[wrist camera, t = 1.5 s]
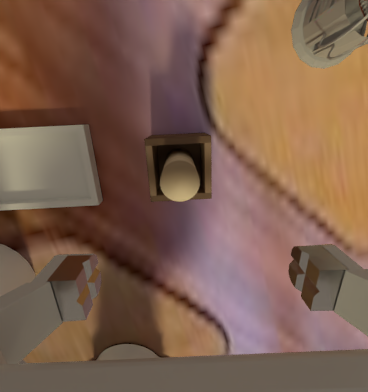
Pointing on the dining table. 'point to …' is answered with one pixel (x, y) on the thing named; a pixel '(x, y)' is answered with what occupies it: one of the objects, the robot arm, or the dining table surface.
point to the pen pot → (164, 144)
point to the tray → (48, 168)
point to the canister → (13, 270)
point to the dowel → (179, 176)
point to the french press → (329, 30)
